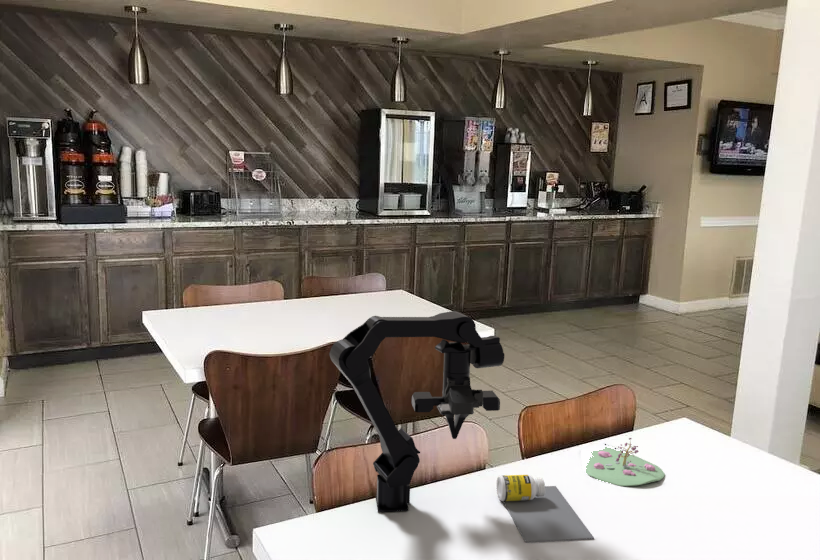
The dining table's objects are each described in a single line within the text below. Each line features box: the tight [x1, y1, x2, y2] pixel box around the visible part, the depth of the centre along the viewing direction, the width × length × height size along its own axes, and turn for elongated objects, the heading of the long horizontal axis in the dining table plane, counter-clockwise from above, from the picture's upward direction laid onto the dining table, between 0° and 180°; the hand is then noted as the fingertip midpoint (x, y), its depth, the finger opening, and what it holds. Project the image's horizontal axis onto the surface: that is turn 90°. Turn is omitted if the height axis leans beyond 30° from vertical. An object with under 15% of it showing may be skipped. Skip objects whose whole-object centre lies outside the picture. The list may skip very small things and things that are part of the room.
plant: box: [585, 437, 666, 487], centre depth 165 cm, size 25×21×9 cm
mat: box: [496, 485, 595, 543], centre depth 141 cm, size 14×22×1 cm, turn 7°
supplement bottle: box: [496, 474, 546, 502], centre depth 145 cm, size 5×5×10 cm
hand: (454, 438), depth 146 cm, fingers closed
